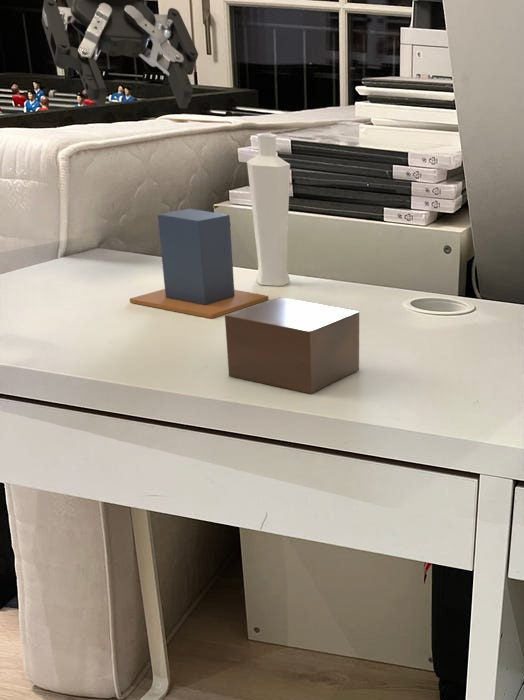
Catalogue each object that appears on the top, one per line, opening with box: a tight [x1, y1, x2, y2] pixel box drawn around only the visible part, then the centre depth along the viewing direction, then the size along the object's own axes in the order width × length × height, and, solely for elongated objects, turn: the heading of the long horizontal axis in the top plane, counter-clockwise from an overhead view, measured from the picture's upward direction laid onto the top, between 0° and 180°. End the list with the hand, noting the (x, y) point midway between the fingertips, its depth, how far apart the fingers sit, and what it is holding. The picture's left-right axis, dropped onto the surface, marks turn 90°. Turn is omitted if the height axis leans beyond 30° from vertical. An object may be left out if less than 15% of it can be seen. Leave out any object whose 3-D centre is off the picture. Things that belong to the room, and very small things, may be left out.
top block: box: [157, 208, 235, 305], centre depth 100 cm, size 5×5×8 cm
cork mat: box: [129, 288, 269, 319], centre depth 102 cm, size 10×10×1 cm
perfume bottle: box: [246, 133, 291, 287], centre depth 107 cm, size 5×4×15 cm
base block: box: [224, 296, 360, 395], centre depth 82 cm, size 8×8×5 cm
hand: (145, 101), depth 99 cm, fingers open, 8 cm apart
